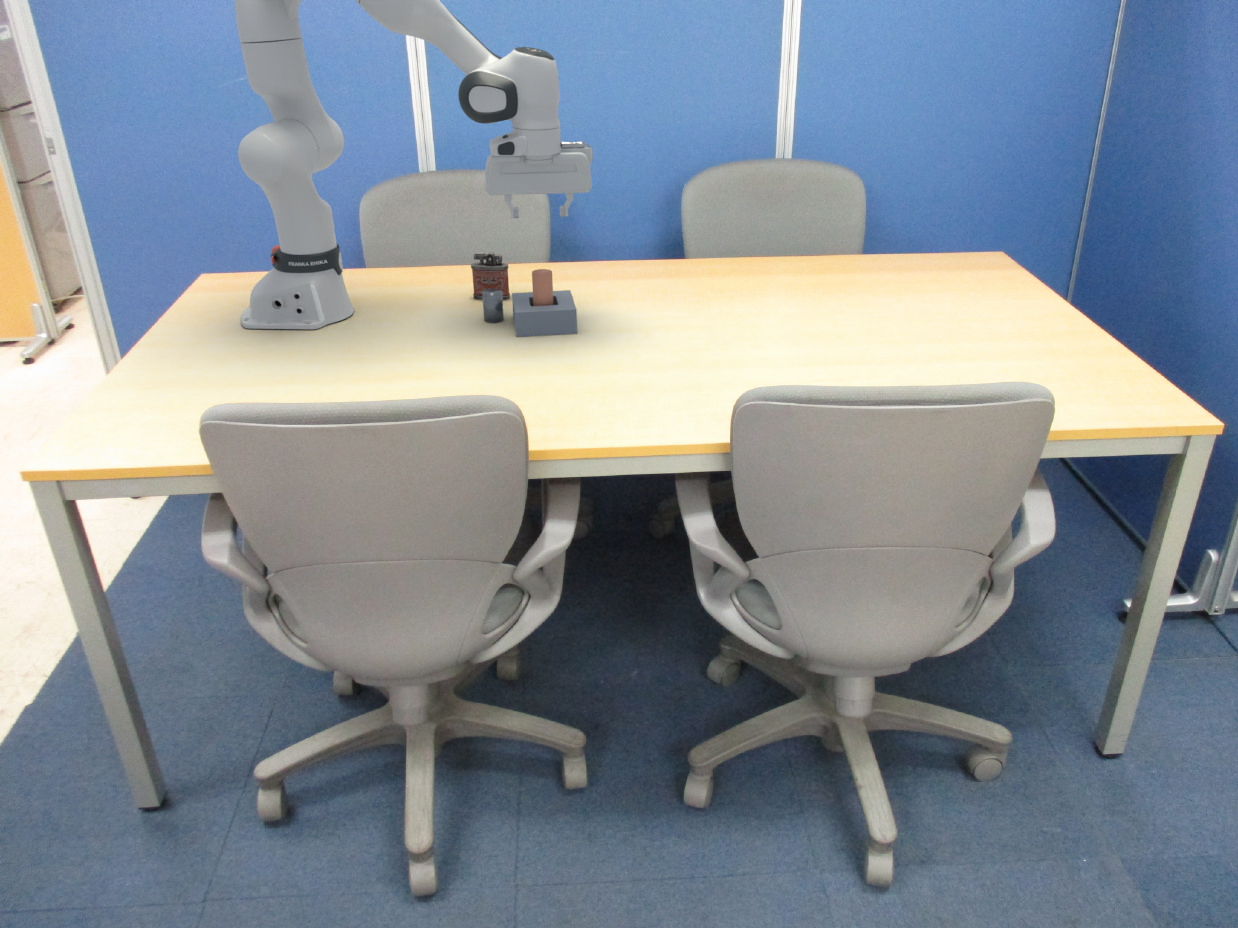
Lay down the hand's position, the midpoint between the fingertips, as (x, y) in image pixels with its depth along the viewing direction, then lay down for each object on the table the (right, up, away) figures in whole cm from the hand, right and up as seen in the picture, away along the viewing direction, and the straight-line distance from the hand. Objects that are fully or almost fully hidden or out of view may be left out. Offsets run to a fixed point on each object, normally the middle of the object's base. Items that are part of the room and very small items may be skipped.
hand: (539, 216), depth 190 cm
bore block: (0, -19, +10) cm, 22 cm away
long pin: (0, -19, +10) cm, 22 cm away
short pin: (-10, -18, +13) cm, 24 cm away
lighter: (-12, -12, +25) cm, 30 cm away
